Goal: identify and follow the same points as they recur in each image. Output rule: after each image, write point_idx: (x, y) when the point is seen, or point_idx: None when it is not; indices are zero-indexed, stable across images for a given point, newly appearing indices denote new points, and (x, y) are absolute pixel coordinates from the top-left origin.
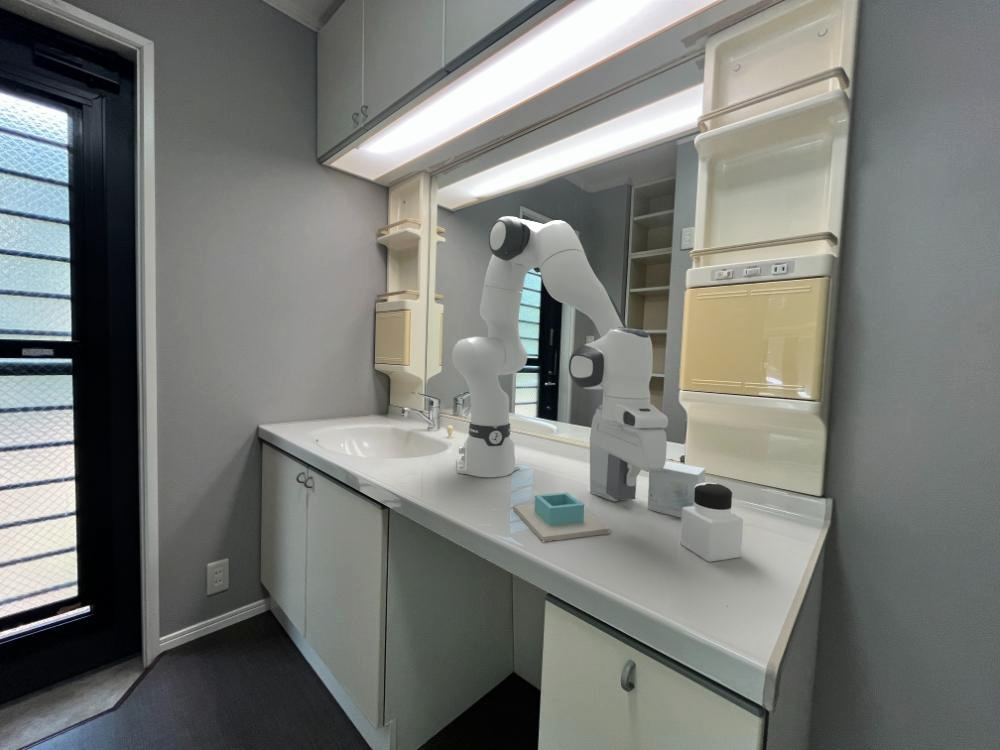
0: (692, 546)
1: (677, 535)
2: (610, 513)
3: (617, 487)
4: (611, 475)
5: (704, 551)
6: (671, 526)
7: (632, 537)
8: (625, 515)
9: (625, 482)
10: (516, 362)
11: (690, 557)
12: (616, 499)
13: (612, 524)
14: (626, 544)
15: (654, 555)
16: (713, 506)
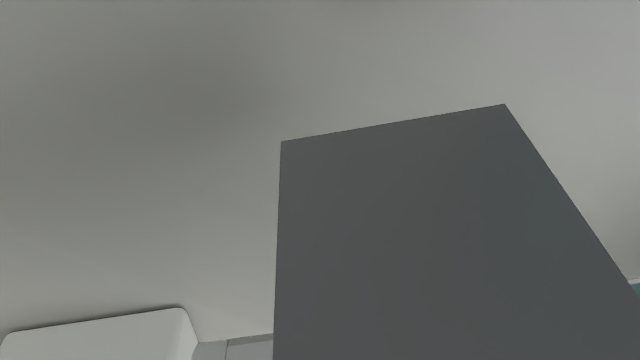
0: (93, 335)
1: None
2: (629, 123)
3: (290, 223)
4: (477, 278)
5: (14, 356)
6: None
7: (266, 118)
8: None
9: (249, 349)
10: None
11: (47, 288)
12: (298, 140)
13: (466, 70)
14: (169, 43)
15: (39, 143)
16: None
